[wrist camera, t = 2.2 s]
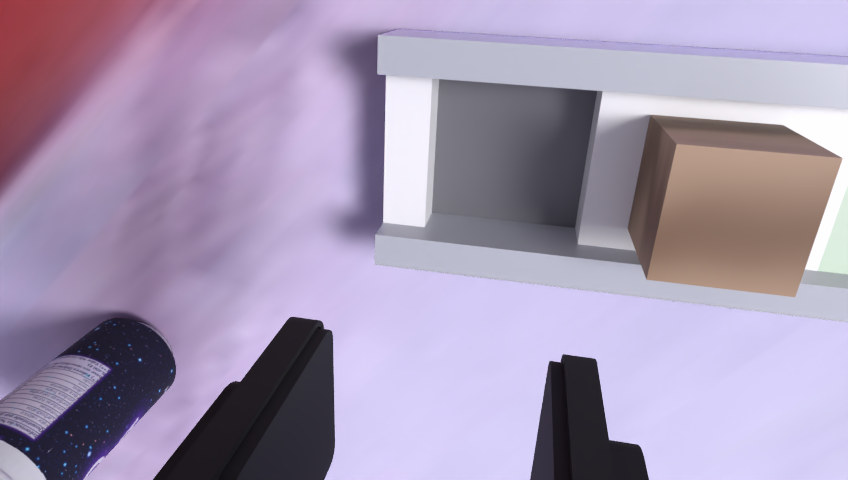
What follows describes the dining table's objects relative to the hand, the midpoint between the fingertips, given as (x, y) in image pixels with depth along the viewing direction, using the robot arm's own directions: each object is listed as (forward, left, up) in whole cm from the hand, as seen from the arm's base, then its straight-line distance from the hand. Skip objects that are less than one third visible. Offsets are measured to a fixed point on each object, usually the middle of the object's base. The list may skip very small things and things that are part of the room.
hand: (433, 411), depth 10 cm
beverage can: (+15, -21, -19) cm, 32 cm away
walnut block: (0, +9, -17) cm, 19 cm away
